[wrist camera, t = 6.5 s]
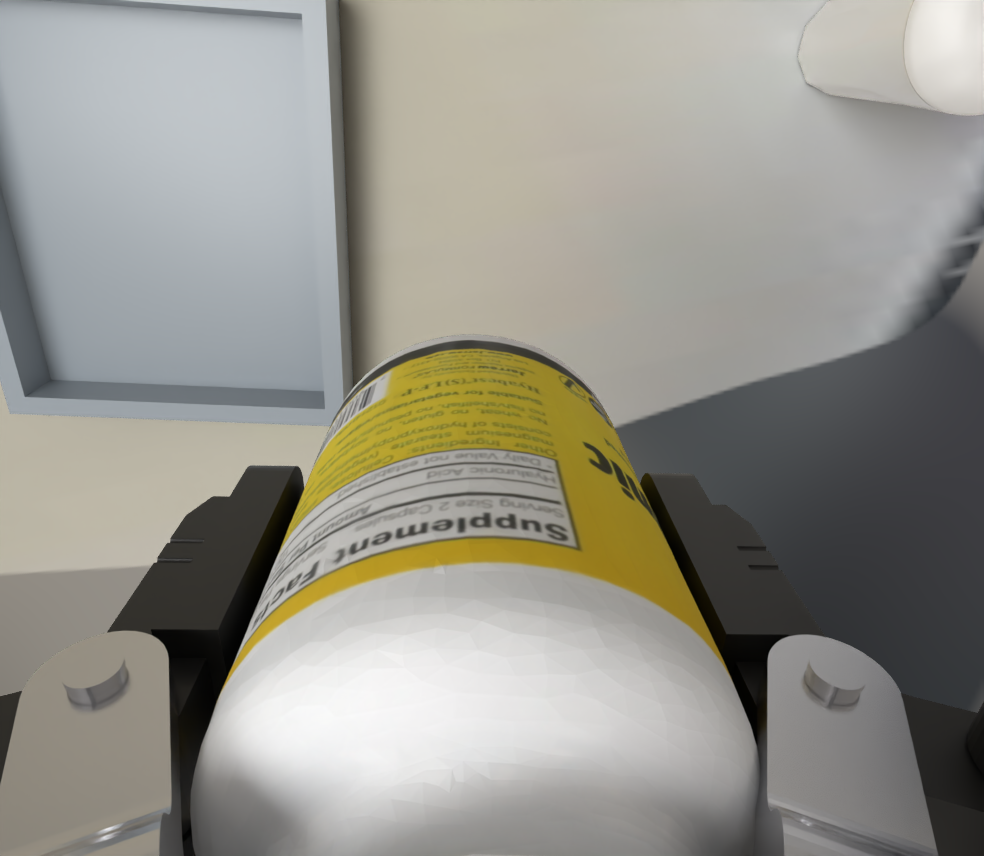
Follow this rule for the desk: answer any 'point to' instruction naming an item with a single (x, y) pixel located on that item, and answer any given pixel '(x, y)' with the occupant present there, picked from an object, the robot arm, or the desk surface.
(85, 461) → the desk surface
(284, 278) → the tray
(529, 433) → the supplement bottle
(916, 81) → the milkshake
